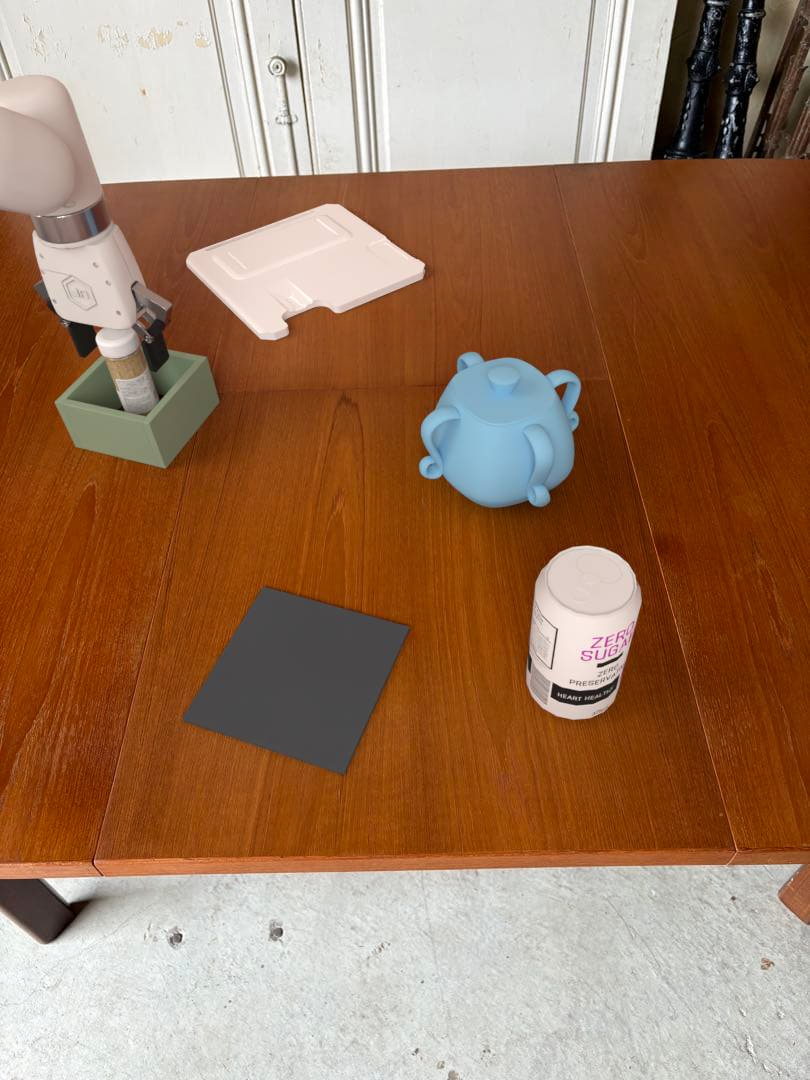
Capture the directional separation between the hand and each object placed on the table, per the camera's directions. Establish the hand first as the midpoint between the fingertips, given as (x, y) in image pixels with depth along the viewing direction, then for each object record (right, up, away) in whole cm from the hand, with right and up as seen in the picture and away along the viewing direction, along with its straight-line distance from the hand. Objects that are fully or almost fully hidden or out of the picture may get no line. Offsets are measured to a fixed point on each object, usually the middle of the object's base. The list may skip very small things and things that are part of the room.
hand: (124, 357), depth 94 cm
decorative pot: (+43, -13, -1) cm, 45 cm away
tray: (+17, +20, +30) cm, 40 cm away
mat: (+23, -34, -18) cm, 45 cm away
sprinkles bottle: (+1, -7, +8) cm, 10 cm away
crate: (+1, -7, +7) cm, 10 cm away
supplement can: (+48, -34, -20) cm, 62 cm away
